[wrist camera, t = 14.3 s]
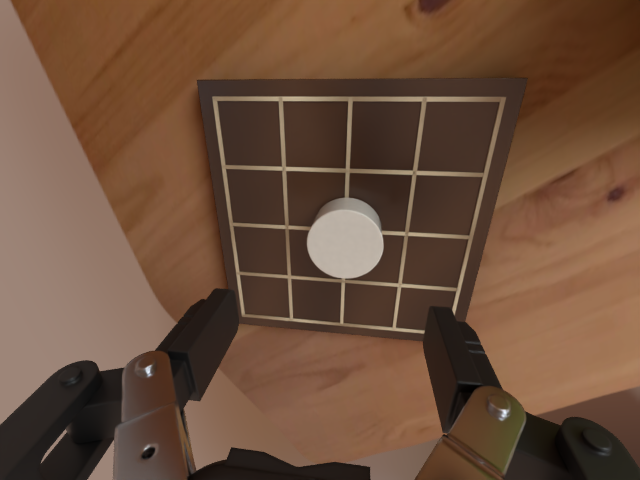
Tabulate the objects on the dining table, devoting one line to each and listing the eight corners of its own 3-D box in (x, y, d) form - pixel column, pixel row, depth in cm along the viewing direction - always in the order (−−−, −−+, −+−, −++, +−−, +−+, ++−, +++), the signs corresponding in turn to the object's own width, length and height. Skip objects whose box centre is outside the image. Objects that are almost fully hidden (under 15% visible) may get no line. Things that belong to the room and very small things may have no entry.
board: (238, 314, 26) (232, 324, 25) (206, 80, 19) (195, 79, 18) (455, 334, 24) (459, 346, 23) (518, 78, 17) (529, 77, 15)
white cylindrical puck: (312, 258, 22) (307, 276, 19) (312, 195, 20) (305, 207, 18) (378, 262, 21) (380, 281, 19) (385, 198, 19) (387, 211, 17)
